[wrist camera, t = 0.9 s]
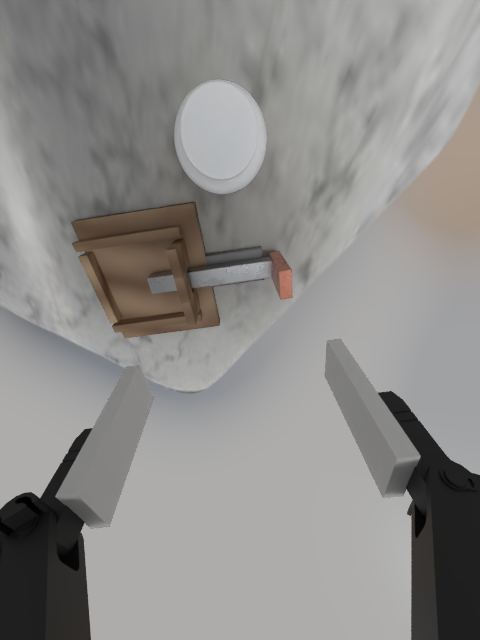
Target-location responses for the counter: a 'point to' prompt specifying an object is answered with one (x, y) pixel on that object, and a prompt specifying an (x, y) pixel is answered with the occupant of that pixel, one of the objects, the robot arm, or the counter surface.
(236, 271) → the lock pin
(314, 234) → the counter surface
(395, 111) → the counter surface
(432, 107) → the counter surface
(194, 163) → the supplement bottle
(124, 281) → the dock
